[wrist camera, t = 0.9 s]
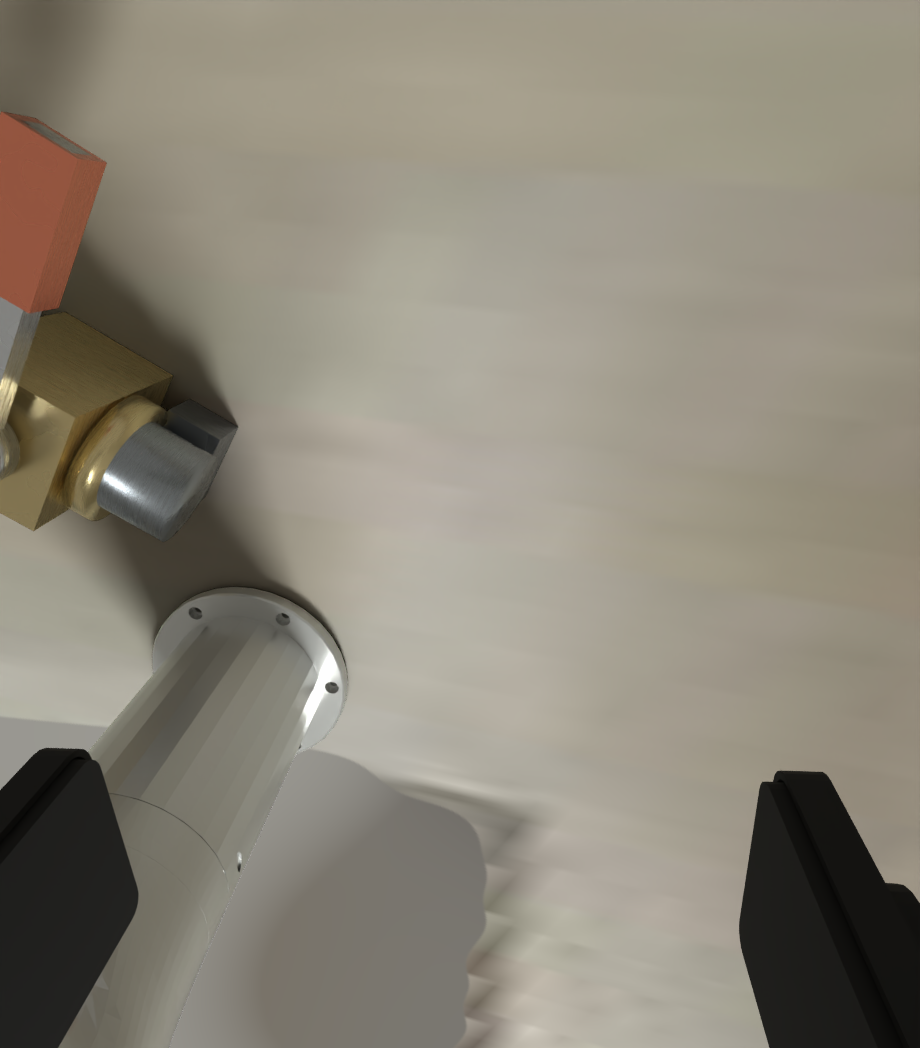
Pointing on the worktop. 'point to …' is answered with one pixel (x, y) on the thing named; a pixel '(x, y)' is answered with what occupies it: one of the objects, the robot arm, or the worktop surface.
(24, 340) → the valve lever
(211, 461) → the ball valve
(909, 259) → the worktop surface
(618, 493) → the worktop surface
